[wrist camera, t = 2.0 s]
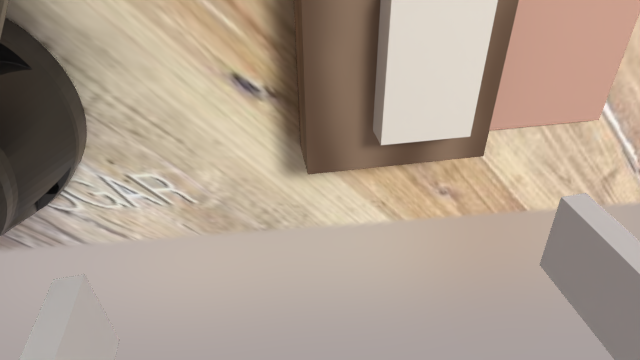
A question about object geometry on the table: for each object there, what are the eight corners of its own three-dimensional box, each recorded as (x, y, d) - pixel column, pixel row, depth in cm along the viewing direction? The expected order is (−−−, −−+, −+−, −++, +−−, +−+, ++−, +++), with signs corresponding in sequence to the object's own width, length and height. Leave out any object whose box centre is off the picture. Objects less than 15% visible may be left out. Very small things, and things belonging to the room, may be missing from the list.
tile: (372, 130, 30) (380, 145, 28) (381, -13, 25) (392, -5, 23) (457, 122, 31) (470, 136, 29) (482, -19, 25) (500, -11, 24)
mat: (460, 130, 36) (462, 132, 36) (500, -86, 27) (504, -86, 27) (595, 117, 37) (598, 119, 37) (674, -92, 29) (679, -91, 28)
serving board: (300, 145, 34) (307, 174, 31) (290, -79, 26) (298, -72, 22) (460, 130, 36) (483, 156, 33) (500, -86, 27) (537, -80, 24)
